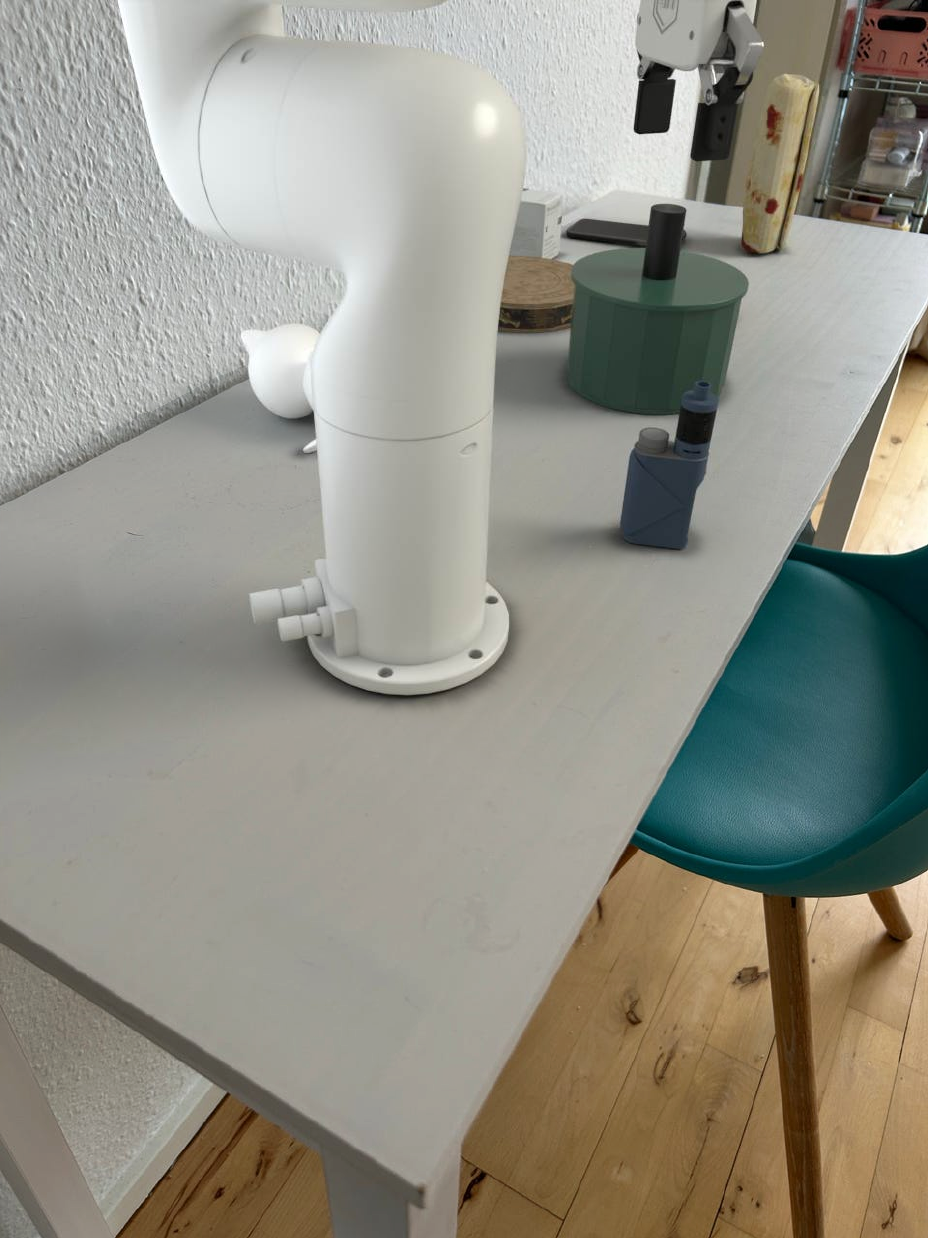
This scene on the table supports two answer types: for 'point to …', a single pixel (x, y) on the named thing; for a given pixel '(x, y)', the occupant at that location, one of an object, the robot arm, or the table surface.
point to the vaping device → (668, 474)
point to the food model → (778, 162)
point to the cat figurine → (283, 369)
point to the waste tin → (646, 353)
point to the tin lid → (660, 271)
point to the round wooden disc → (536, 295)
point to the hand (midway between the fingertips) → (678, 145)
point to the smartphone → (611, 231)
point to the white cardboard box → (538, 224)
